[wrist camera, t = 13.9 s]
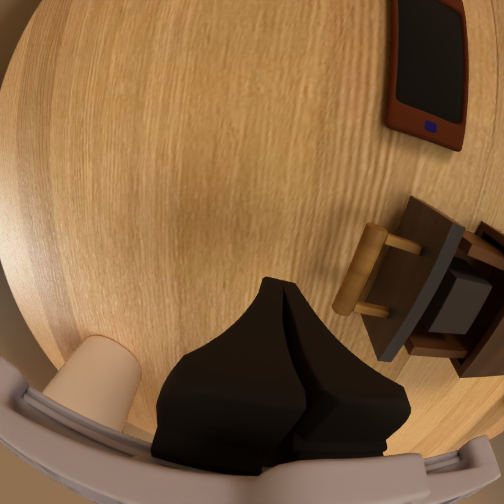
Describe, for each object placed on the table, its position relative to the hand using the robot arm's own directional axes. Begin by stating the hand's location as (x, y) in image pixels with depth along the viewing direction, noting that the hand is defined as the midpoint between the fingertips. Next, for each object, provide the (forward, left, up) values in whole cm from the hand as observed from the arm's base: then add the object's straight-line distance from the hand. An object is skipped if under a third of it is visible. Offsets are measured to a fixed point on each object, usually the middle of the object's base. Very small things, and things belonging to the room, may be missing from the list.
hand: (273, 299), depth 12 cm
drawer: (+13, 0, -9) cm, 16 cm away
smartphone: (+8, +17, -10) cm, 21 cm away
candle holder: (-14, -21, -10) cm, 27 cm away
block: (+14, 0, -8) cm, 16 cm away
